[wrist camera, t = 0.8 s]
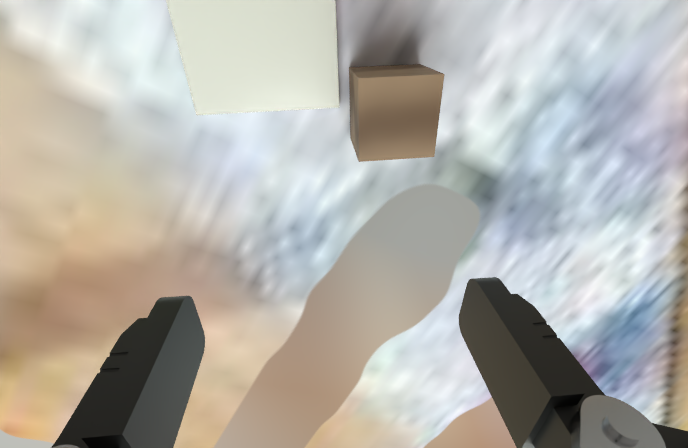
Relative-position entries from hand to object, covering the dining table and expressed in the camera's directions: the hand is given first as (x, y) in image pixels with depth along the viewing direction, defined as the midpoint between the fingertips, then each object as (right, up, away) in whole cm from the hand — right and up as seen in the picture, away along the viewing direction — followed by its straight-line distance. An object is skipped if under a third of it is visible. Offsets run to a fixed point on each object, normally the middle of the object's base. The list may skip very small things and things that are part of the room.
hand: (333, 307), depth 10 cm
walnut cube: (+4, +13, +19) cm, 24 cm away
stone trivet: (-6, +18, +15) cm, 24 cm away
